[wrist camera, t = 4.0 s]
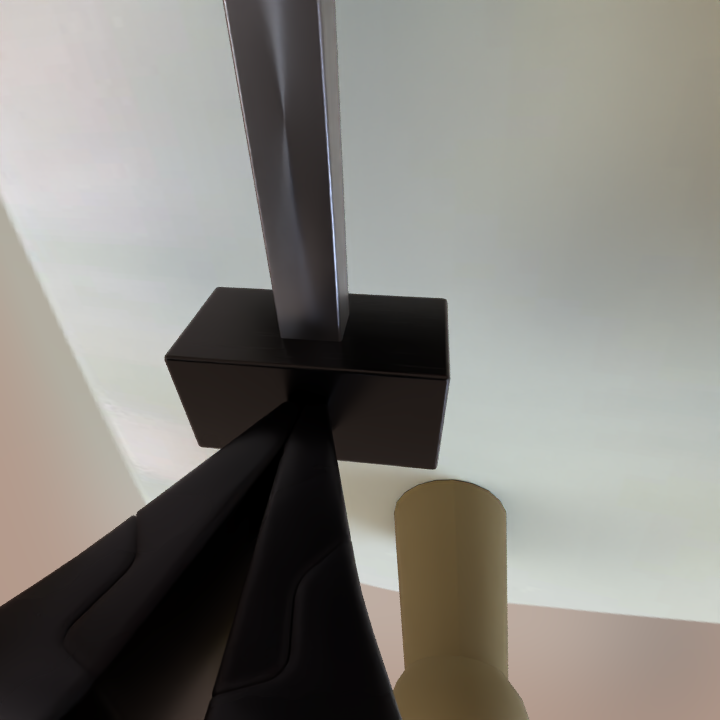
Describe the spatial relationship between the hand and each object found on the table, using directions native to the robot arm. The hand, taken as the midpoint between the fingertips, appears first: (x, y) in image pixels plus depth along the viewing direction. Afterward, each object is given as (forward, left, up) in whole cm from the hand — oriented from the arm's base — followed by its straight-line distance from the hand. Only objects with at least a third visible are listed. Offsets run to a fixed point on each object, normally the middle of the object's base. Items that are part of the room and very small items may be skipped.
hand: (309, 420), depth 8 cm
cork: (-14, +6, -10) cm, 18 cm away
